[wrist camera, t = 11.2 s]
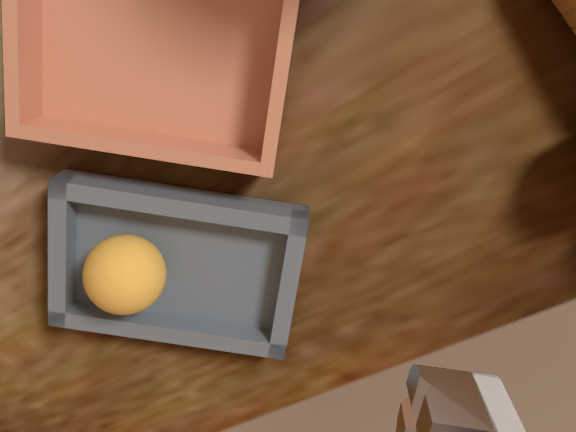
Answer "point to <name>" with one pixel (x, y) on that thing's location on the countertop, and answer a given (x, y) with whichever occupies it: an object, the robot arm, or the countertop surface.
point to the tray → (180, 261)
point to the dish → (151, 77)
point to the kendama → (567, 11)
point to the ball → (124, 274)
